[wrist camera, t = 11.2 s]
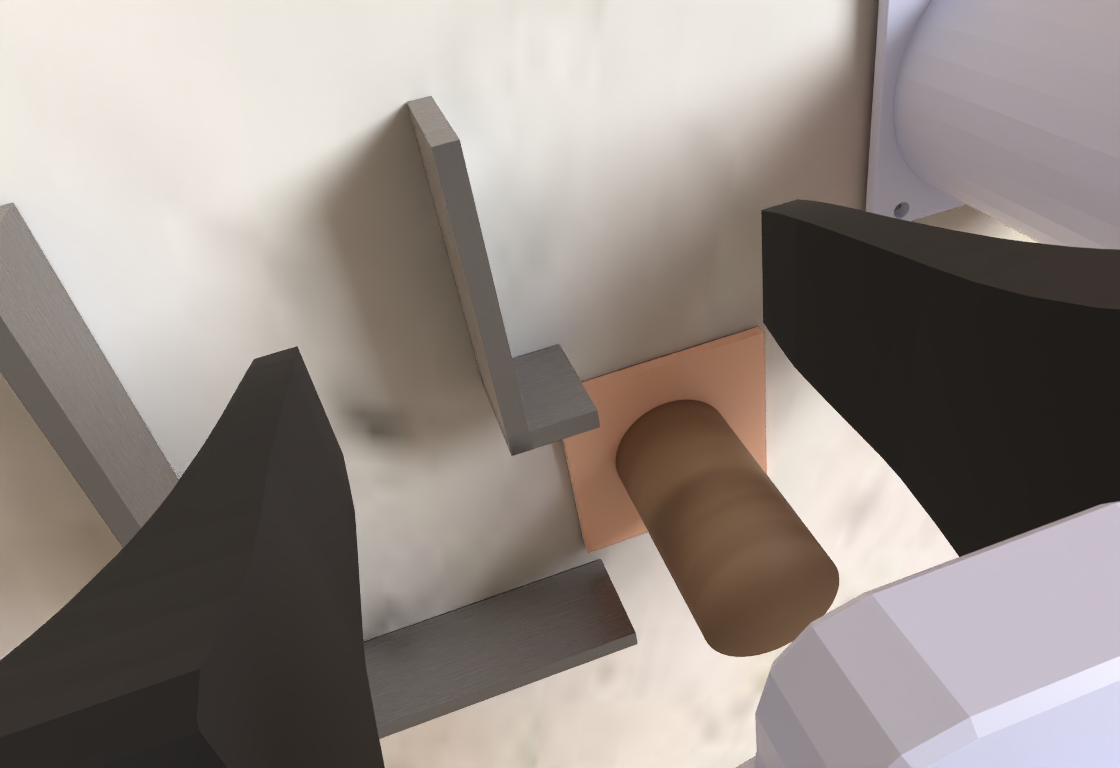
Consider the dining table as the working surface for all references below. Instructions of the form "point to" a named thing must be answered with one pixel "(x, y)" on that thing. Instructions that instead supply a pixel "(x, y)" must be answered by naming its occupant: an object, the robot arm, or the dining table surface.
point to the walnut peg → (724, 530)
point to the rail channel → (147, 479)
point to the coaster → (624, 396)
